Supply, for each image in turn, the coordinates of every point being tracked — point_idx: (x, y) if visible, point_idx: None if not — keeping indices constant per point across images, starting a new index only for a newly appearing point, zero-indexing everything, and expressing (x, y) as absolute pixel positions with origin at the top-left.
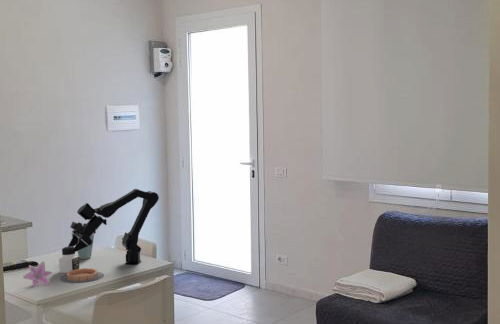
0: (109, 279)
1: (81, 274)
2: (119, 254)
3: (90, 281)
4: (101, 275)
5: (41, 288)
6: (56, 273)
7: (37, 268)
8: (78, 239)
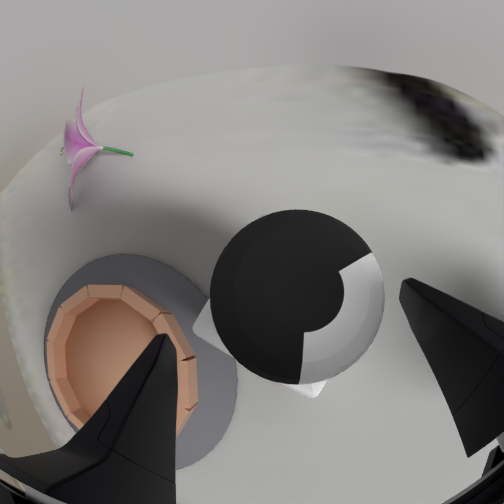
0: None
1: None
2: None
3: (49, 381)
4: None
5: (59, 188)
6: None
7: (73, 125)
8: (42, 467)
